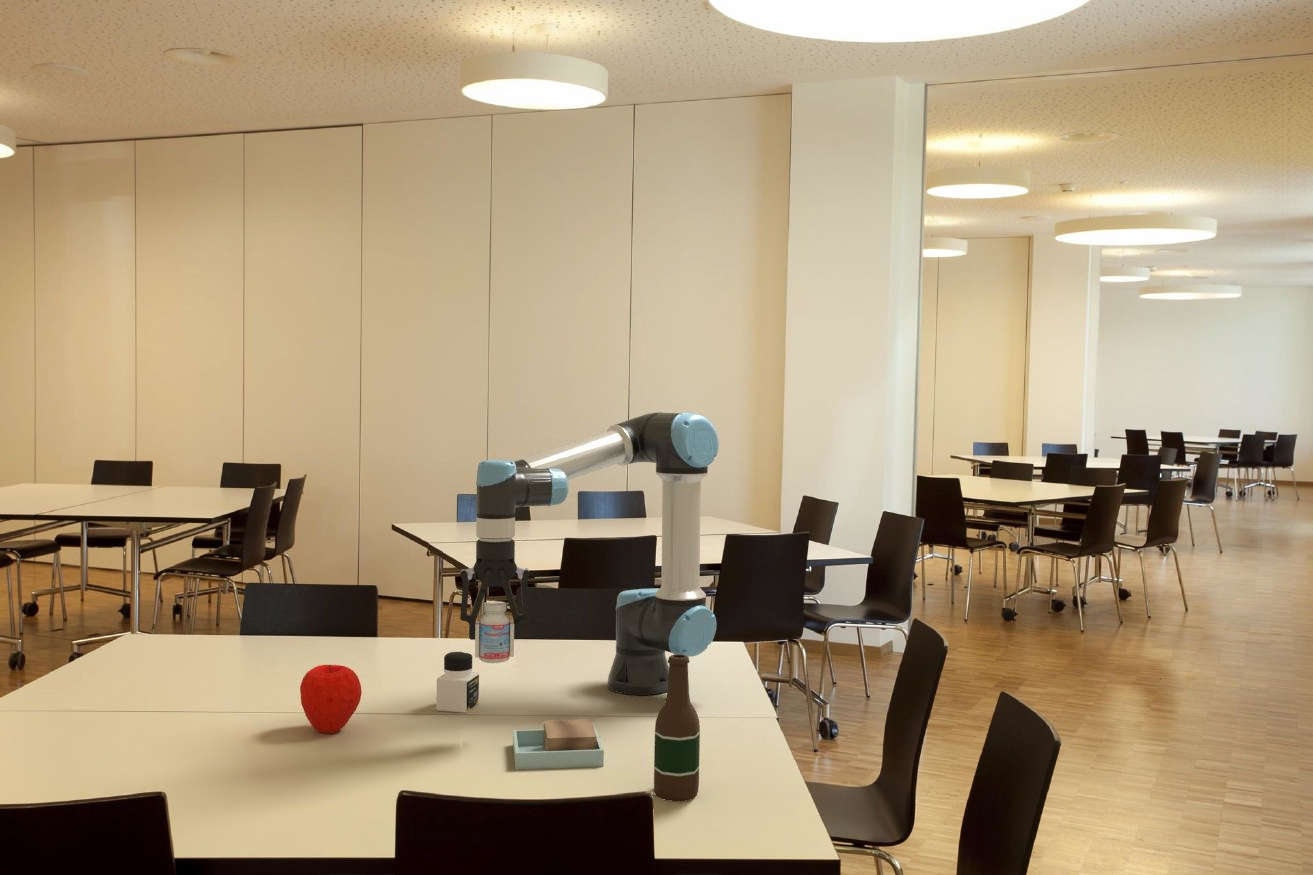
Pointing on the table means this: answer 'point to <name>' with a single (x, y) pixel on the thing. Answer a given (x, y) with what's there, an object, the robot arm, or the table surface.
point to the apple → (330, 696)
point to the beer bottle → (677, 738)
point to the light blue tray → (551, 753)
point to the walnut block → (569, 735)
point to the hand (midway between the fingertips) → (494, 655)
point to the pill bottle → (494, 633)
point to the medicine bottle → (457, 684)
